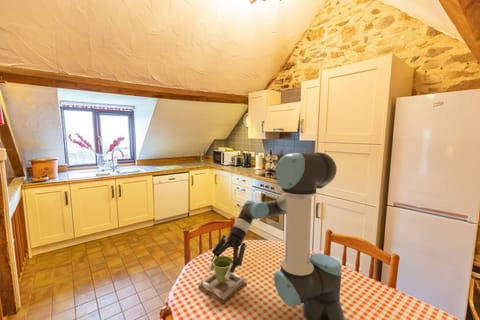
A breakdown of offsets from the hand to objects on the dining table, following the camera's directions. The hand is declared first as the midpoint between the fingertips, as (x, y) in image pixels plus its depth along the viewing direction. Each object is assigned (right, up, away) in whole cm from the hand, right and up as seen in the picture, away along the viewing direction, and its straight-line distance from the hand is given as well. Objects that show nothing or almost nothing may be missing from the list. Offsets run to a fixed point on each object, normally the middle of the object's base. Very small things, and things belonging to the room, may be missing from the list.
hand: (218, 274), depth 102 cm
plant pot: (+2, -4, +3) cm, 5 cm away
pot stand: (+2, -7, +3) cm, 8 cm away
